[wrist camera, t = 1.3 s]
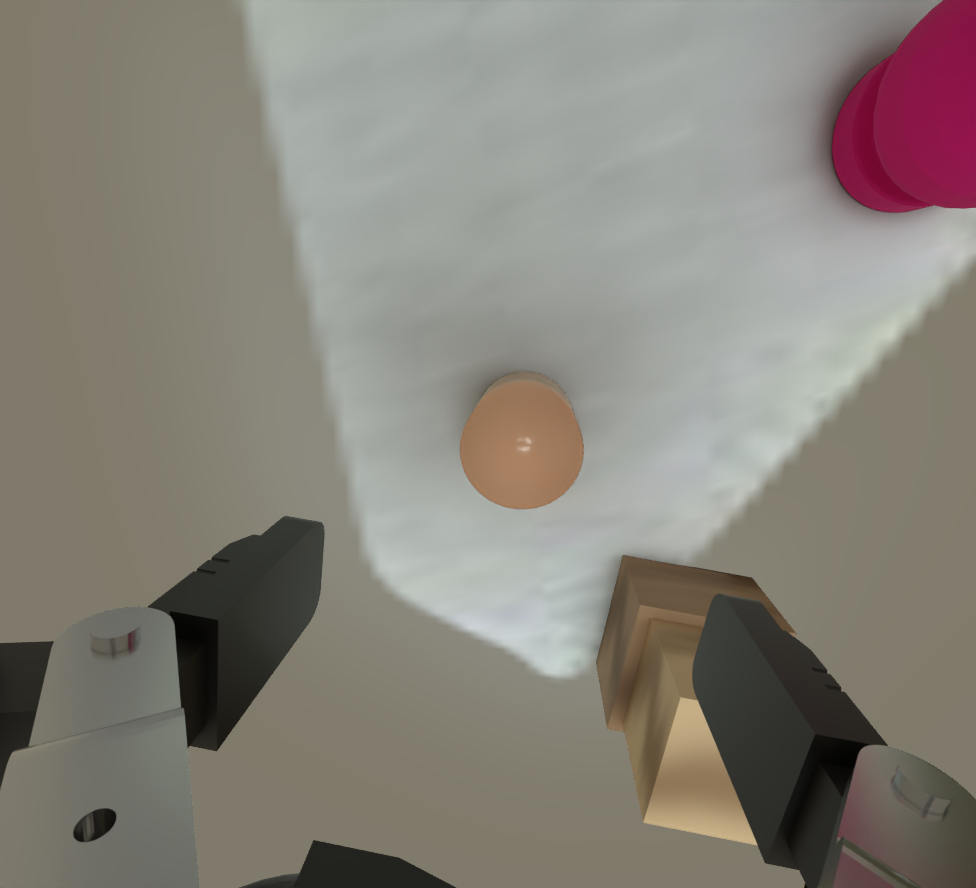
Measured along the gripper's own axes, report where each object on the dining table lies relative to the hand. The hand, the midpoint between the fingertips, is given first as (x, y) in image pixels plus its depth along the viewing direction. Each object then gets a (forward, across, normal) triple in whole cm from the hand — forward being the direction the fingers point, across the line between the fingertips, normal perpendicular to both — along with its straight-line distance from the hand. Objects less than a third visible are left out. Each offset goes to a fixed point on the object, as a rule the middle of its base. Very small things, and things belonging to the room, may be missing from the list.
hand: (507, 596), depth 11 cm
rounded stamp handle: (+17, 0, 0) cm, 17 cm away
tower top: (+12, -10, +10) cm, 19 cm away
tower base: (+17, -10, +10) cm, 22 cm away
